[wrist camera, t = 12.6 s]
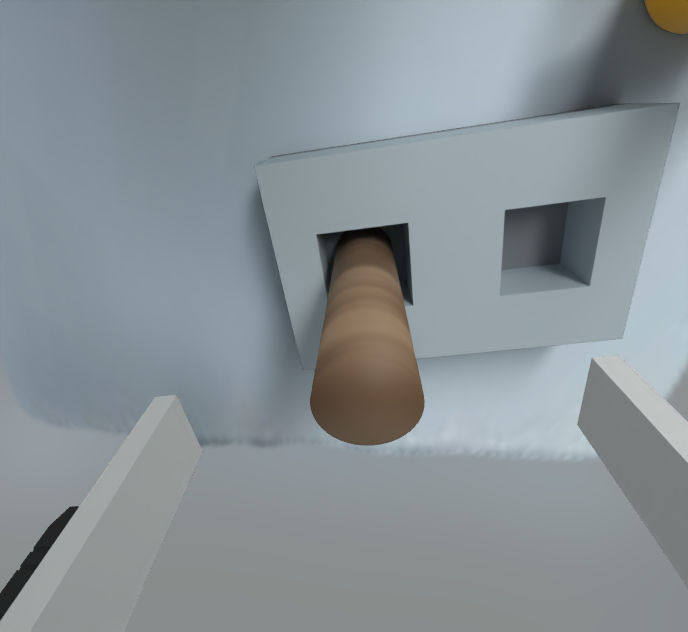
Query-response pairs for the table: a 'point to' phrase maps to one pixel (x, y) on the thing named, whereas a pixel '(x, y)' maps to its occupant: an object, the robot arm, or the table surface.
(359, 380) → the pin
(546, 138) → the hole block
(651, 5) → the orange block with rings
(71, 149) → the table surface
